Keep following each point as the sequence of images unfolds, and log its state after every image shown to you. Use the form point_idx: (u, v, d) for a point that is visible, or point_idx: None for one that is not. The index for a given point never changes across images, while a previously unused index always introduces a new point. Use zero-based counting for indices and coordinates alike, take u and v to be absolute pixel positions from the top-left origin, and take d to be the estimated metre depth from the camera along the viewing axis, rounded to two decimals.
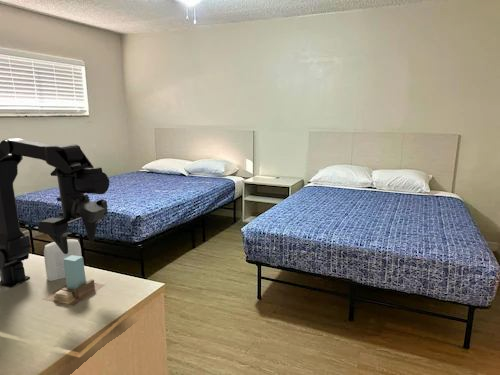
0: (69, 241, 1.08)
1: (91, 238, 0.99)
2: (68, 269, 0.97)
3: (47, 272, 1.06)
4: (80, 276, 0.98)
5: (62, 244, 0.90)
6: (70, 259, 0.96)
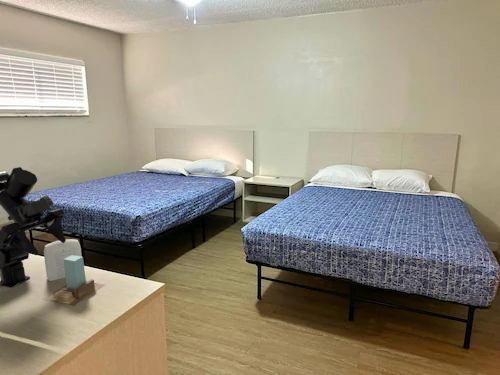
0: (69, 241, 1.08)
1: (62, 239, 1.03)
2: (68, 269, 0.97)
3: (47, 272, 1.06)
4: (80, 276, 0.98)
5: (27, 245, 0.94)
6: (70, 259, 0.96)
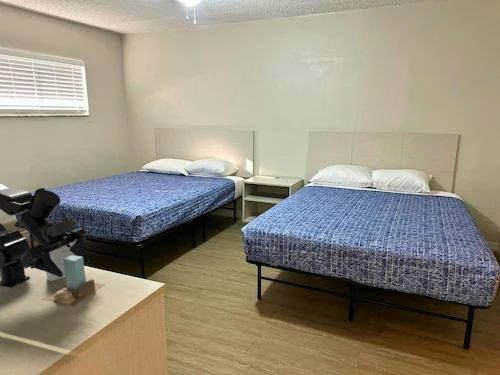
0: None
1: (85, 259, 1.02)
2: (68, 269, 0.97)
3: (47, 272, 1.06)
4: (80, 276, 0.98)
5: (52, 268, 0.93)
6: (70, 259, 0.96)
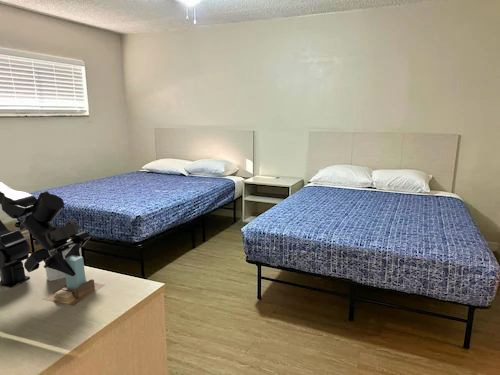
0: None
1: None
2: None
3: (47, 272, 1.06)
4: (80, 276, 0.98)
5: (64, 267, 0.95)
6: (70, 259, 0.96)
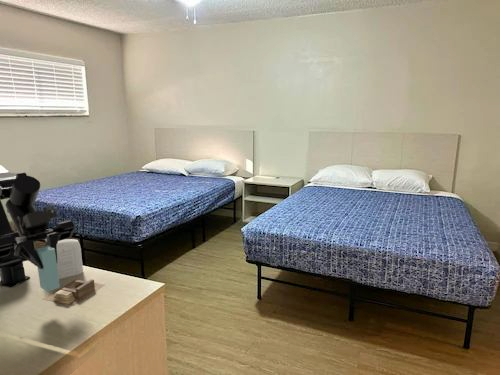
0: (69, 241, 1.08)
1: None
2: None
3: None
4: (50, 270, 0.87)
5: (32, 258, 0.85)
6: (41, 249, 0.86)
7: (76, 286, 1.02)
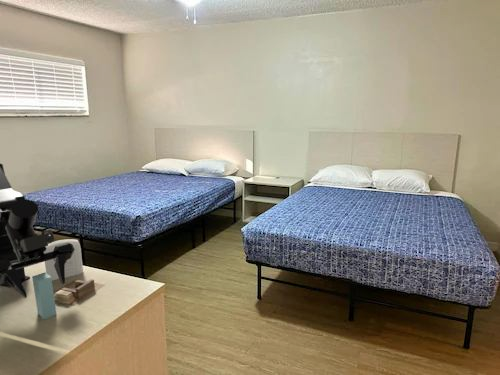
0: (69, 241, 1.08)
1: (61, 280, 0.90)
2: (35, 289, 0.87)
3: (47, 272, 1.06)
4: (47, 298, 0.86)
5: (16, 286, 0.83)
6: (37, 278, 0.86)
7: (76, 286, 1.02)
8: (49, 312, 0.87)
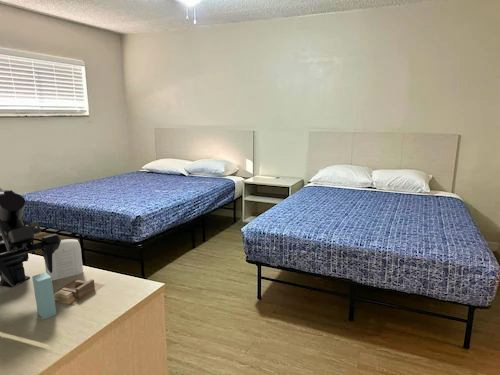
0: (69, 241, 1.08)
1: (49, 268, 0.96)
2: (35, 289, 0.87)
3: (47, 272, 1.06)
4: (47, 298, 0.86)
5: (3, 275, 0.89)
6: (37, 278, 0.86)
7: (76, 286, 1.02)
8: (49, 312, 0.87)
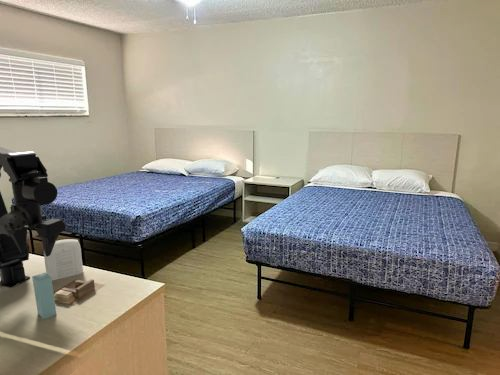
0: (69, 241, 1.08)
1: None
2: (35, 289, 0.87)
3: (47, 272, 1.06)
4: (47, 298, 0.86)
5: None
6: (37, 278, 0.86)
7: (76, 286, 1.02)
8: (49, 312, 0.87)
